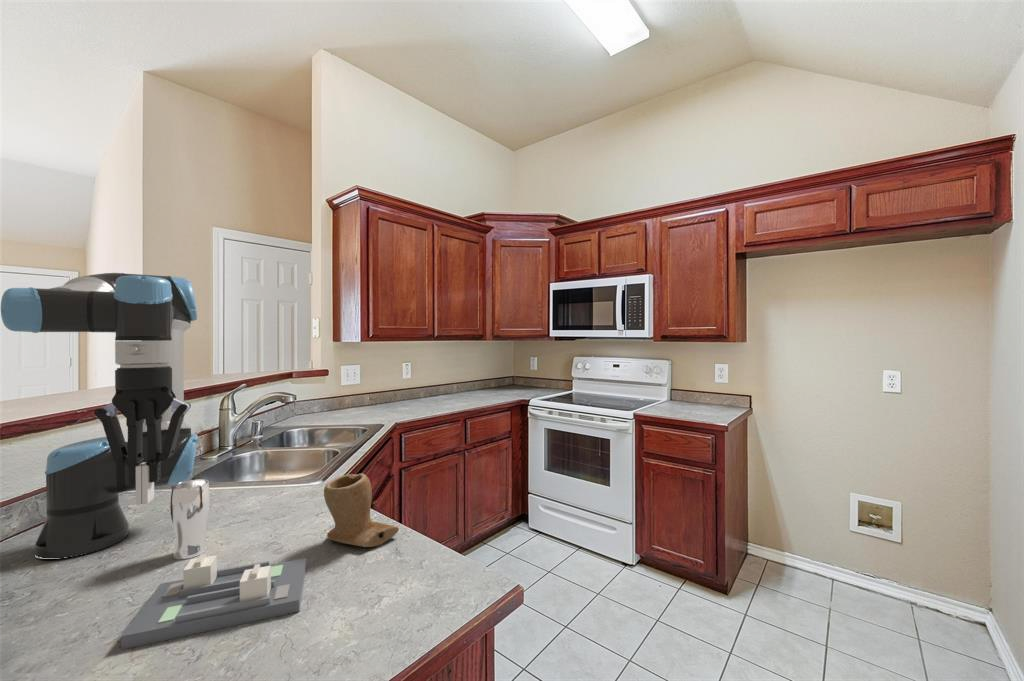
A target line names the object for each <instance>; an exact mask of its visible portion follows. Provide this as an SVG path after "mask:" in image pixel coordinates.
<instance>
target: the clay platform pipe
mask: <svg viewBox="0 0 1024 681" xmlns="http://www.w3.org/2000/svg"><path fill="white" fill-rule="evenodd" d="M371 484H372V483H371V480H370V479H369V477H368V476H367V475H366V474H364V473H358V474H353V473H347V474H344V475H340V476H337V477H336V478H334V479H331V481H329V482H328V483H326V484H325V486H324V488H323V496H324V500H325V504H326V506H327V509H328V511H329V513H330V515H331V516H332V518H333V521H334V527H333V528H331V530H329V531H328V532H327V534H326V537H327V538H328V539H329V540H331V541H332V542H333V541H334V542H337V543H341V544H345V545H350V546H351V545H352V546H357V547H363V548H372V547H378V546H381V545H383V544H385V543H386V542H388V541H389V540H390V539H392V538H393V537H395V535H397V533H398V532H399V531H400V528H399V526H395V525H391V524H387V523H383V522H382V523H381V522H378V521H372V519H371V508H372V506H371V505H372V497H373V495H372V494H373V493H372V492H373V491H372V490H373V489H372V485H371Z"/></svg>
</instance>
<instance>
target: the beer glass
mask: <svg viewBox="0 0 1024 681" xmlns="http://www.w3.org/2000/svg"><path fill="white" fill-rule="evenodd" d="M170 488H171V491H170V498H169V499H170V500H169V502H170V503H169V511H170V512H169V513H170V520H171V523H172V527H173V532H174V538H175V540H174V541H175V542H174V543H175V544H174V548H173V555H172V558H174V559H175V560H188V559H194V558H195V557H199V556H200V555H201V554H205V553H206V552H207V551H208V549H209V546H208V541H207V536H206V533H207V530H206V529H207V524H208V520H209V514H210V506H211V493H210V483H209V480H208V479H203V478H202V479H201V478H199V479H188V480H187V481H184V482H180V483H175V484H172V486H171V487H170Z"/></svg>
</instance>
